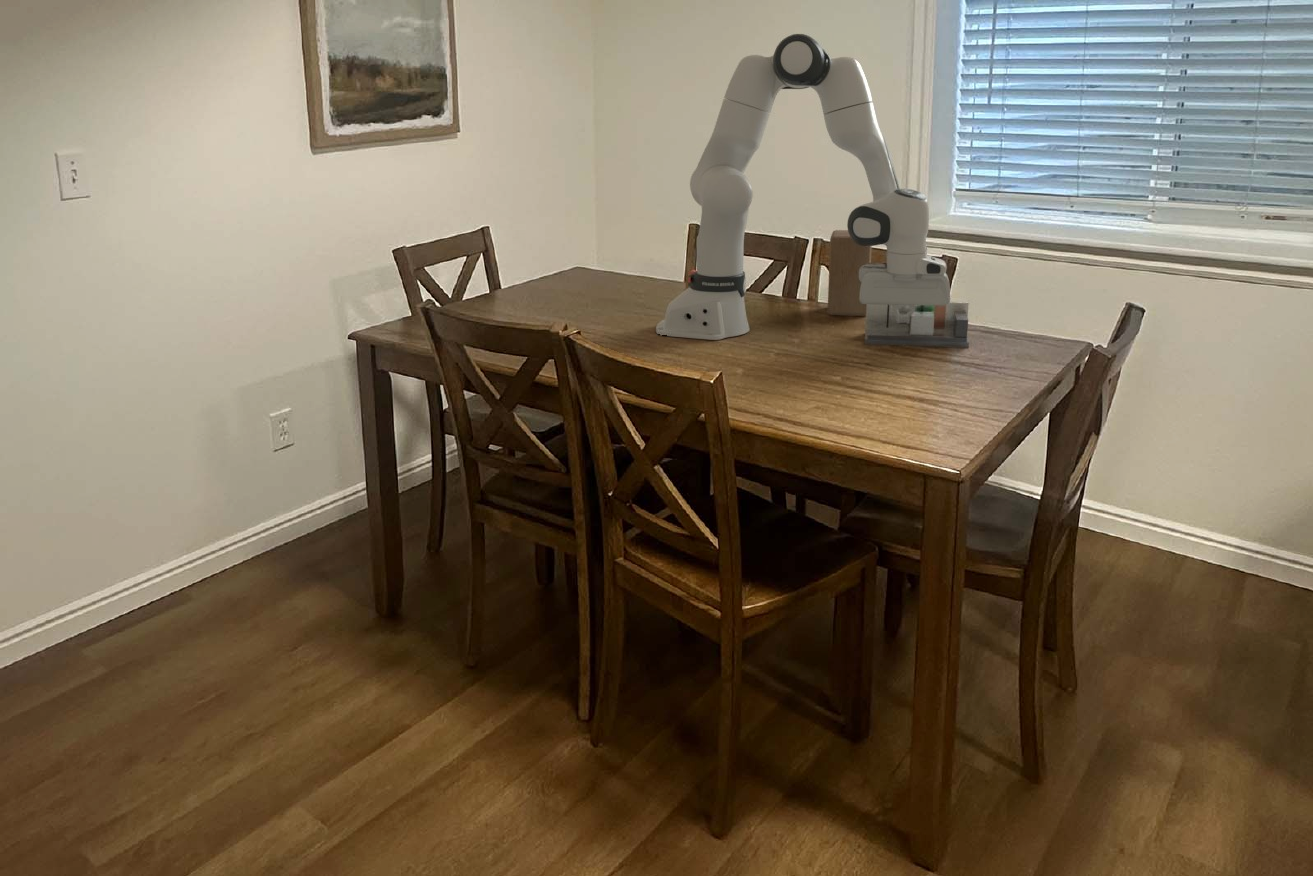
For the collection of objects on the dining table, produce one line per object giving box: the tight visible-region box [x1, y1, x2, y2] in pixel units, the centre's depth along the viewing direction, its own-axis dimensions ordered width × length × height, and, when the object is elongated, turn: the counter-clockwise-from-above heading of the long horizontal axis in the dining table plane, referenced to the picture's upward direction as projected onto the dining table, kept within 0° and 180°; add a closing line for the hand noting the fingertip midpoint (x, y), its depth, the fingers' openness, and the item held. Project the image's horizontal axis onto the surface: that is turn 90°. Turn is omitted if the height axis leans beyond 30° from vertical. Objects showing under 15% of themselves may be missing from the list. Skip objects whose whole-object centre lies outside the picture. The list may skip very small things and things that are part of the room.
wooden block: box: [827, 229, 873, 317], centre depth 282 cm, size 10×10×20 cm
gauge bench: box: [864, 300, 970, 349], centre depth 258 cm, size 23×10×8 cm, turn 79°
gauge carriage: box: [910, 305, 934, 336], centre depth 257 cm, size 5×7×6 cm
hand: (902, 323), depth 257 cm, fingers closed
